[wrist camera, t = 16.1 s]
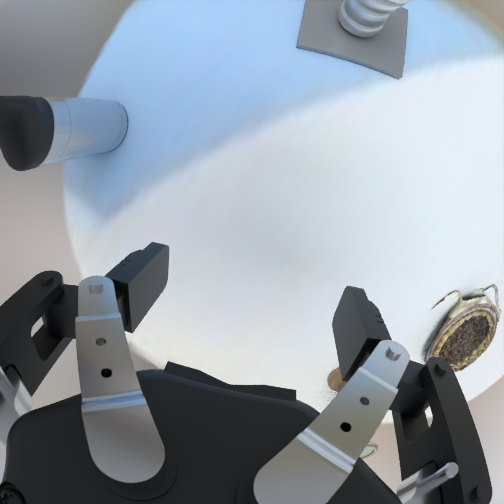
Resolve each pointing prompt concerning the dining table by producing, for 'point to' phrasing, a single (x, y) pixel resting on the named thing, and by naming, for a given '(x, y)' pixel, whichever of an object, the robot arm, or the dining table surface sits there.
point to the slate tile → (354, 38)
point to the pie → (466, 330)
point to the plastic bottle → (366, 15)
